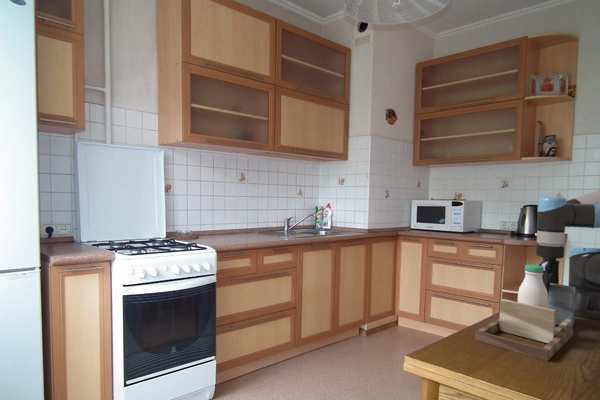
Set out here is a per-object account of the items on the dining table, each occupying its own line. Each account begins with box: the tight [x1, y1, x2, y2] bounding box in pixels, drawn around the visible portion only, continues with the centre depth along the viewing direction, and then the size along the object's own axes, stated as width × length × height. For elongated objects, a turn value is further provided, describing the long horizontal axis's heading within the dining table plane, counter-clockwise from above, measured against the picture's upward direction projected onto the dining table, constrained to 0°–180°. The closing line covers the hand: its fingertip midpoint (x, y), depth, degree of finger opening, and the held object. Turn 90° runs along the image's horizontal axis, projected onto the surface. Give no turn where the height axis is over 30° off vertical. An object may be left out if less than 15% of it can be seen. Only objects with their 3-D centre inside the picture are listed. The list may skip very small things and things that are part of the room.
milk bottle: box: [516, 264, 548, 308], centre depth 111 cm, size 8×8×20 cm
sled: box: [498, 279, 575, 344], centre depth 116 cm, size 24×14×12 cm, turn 133°
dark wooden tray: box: [474, 317, 574, 362], centre depth 108 cm, size 27×17×2 cm, turn 133°
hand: (547, 314), depth 123 cm, fingers open, 8 cm apart
